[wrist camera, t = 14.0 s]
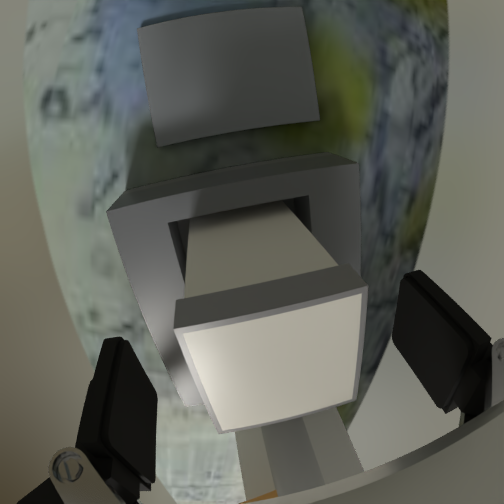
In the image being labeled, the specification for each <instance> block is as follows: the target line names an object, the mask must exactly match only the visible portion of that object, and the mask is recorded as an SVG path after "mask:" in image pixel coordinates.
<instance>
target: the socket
mask: <svg viewBox="0 0 504 504" xmlns="http://www.w3.org/2000/svg"><path fill="white" fill-rule="evenodd" d="M279 200H282V201H283V202H284V203H285V204H286V206H287V207H288V208H289V209H290V210H291V211H292V212H293V213H294V214H295V216H296V217H297V218H298V219H299V220H300V221H301V222H302V223H303V225H304V226H305V227H306V228H307V229H308V230H309V231H310V233H311V234H312V235H313V236H314V237H315V238H316V239H317V241H318V242H319V243H320V244H321V245H322V246H323V248H324V249H325V250H326V251H327V252H328V253H329V255H330V256H331V257H332V258H333V259H334V260H335V262H336V263H337V264H338V265H342V264H347V263H349V265H350V266H351V267H352V268H353V269H354V270H355V271H356V272H357V273H358V275H359V276H360V277H361V202H360V177H359V163H357V162H354V161H351V160H349V159H346V158H343V157H340V156H338V155H335V154H332V153H329V152H324V153H316V154H309V155H301V156H294V157H287V158H281V159H274V160H268V161H262V162H256V163H250V164H244V165H239V166H233V167H228V168H223V169H218V170H213V171H208V172H203V173H198V174H193V175H188V176H184V177H179V178H175V179H170V180H166V181H162V182H158V183H153V184H149V185H145V186H141V187H137V188H133V189H129V190H126V191H124V192H123V194H122V195H121V196H120V197H119V198H118V199H117V200H116V201H115V202H114V203H113V204H112V206H111V207H110V208H109V209H108V210H107V211H106V212H107V216H108V219H109V222H110V226H111V229H112V232H113V235H114V238H115V241H116V244H117V247H118V250H119V253H120V256H121V259H122V262H123V265H124V268H125V270H126V273H127V276H128V279H129V281H130V284H131V287H132V289H133V292H134V294H135V297H136V300H137V302H138V305H139V307H140V310H141V312H142V315H143V317H144V319H145V322H146V324H147V327H148V329H149V331H150V334H151V336H152V338H153V341H154V343H155V345H156V347H157V350H158V352H159V354H160V356H161V358H162V360H163V363H164V365H165V367H166V369H167V371H168V373H169V375H170V377H171V379H172V381H173V383H174V385H175V387H176V389H177V391H178V393H179V395H180V397H181V399H182V401H183V403H184V405H185V407H188V406H195V405H202V404H204V402H203V400H202V398H201V395H200V393H199V391H198V388H197V386H196V384H195V382H194V379H193V377H192V374H191V372H190V370H189V367H188V365H187V362H186V360H185V358H184V355H183V353H182V350H181V348H180V345H179V342H178V340H177V337H176V335H175V332H174V329H173V328H174V315H175V304H176V300H178V299H184V294H185V277H186V262H187V248H188V235H189V224H190V218H192V217H197V216H202V215H206V214H211V213H216V212H221V211H226V210H231V209H236V208H241V207H246V206H252V205H257V204H262V203H268V202H273V201H279Z"/></svg>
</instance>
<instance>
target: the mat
mask: <svg viewBox="0 0 504 504" xmlns="http://www.w3.org/2000/svg"><path fill="white" fill-rule="evenodd" d="M137 32H138V39H139V46H140V53H141V60H142V66H143V72H144V78H145V84H146V90H147V96H148V101H149V107H150V112H151V118H152V123H153V128H154V133H155V138H156V143H157V147H161V146H166V145H170V144H174V143H179V142H183V141H188V140H193V139H197V138H202V137H207V136H213V135H218V134H223V133H229V132H235V131H241V130H247V129H253V128H260V127H267V126H274V125H282V124H290V123H299V122H308V121H319V120H320V116H319V108H318V100H317V93H316V86H315V79H314V72H313V66H312V59H311V53H310V47H309V42H308V36H307V31H306V25H305V20H304V15H303V10H302V7H269V8H253V9H241V10H231V11H223V12H215V13H208V14H202V15H196V16H190V17H185V18H180V19H175V20H170V21H165V22H161V23H157V24H153V25H149V26H145V27H141V28H137Z"/></svg>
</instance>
